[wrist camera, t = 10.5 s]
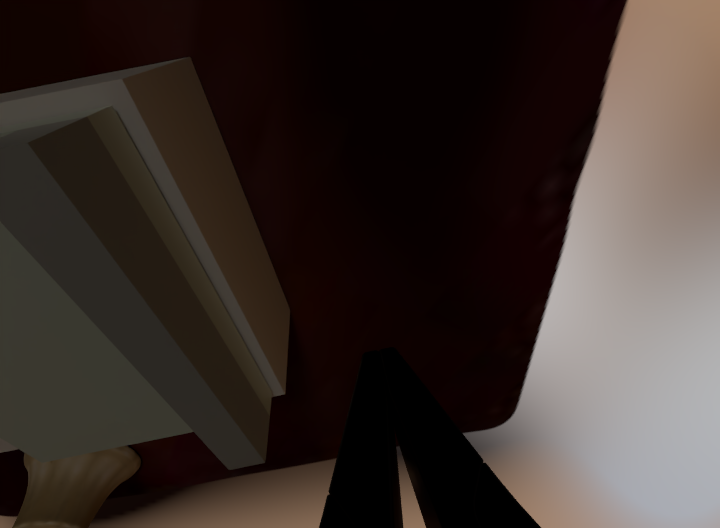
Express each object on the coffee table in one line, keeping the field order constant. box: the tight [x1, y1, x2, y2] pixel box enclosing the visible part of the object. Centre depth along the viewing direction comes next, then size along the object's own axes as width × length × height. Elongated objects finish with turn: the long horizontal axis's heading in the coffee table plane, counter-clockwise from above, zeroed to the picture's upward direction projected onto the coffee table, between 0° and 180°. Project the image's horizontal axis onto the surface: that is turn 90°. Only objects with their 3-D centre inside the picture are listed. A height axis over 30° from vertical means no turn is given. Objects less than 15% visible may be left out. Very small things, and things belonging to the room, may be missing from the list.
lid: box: [0, 105, 272, 470], centre depth 11 cm, size 10×13×3 cm
